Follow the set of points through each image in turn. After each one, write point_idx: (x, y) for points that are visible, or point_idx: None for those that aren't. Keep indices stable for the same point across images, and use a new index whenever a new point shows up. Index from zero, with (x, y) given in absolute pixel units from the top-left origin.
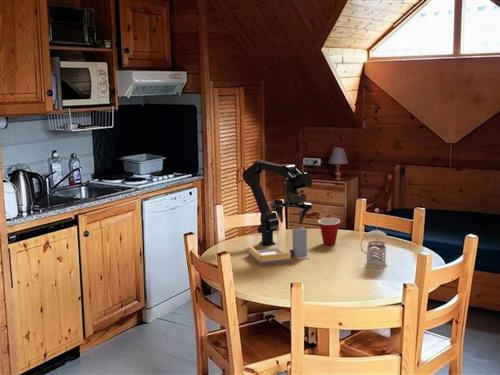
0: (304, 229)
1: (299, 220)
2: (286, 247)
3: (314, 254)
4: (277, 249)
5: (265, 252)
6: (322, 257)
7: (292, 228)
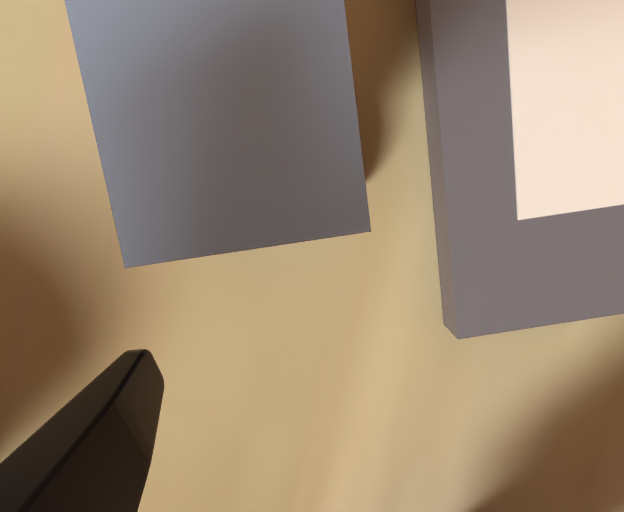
0: (121, 7)
1: (134, 497)
2: (320, 455)
3: (92, 162)
4: (468, 287)
5: (620, 201)
6: (23, 27)
7: (368, 224)
